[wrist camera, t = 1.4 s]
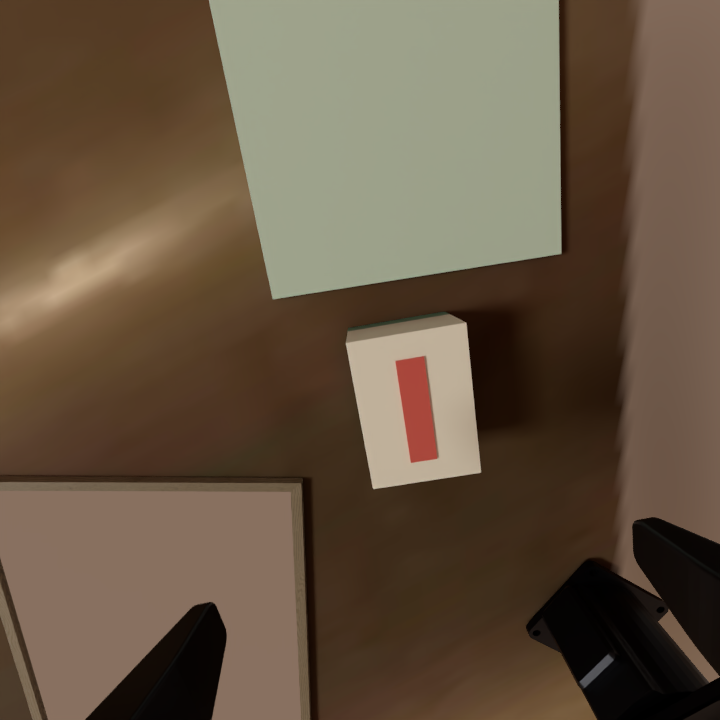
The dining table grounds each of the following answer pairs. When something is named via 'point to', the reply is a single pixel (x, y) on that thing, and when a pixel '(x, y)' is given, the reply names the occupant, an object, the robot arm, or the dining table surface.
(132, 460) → the dining table surface
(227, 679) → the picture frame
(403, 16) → the mat
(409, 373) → the mahjong tile
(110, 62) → the dining table surface
